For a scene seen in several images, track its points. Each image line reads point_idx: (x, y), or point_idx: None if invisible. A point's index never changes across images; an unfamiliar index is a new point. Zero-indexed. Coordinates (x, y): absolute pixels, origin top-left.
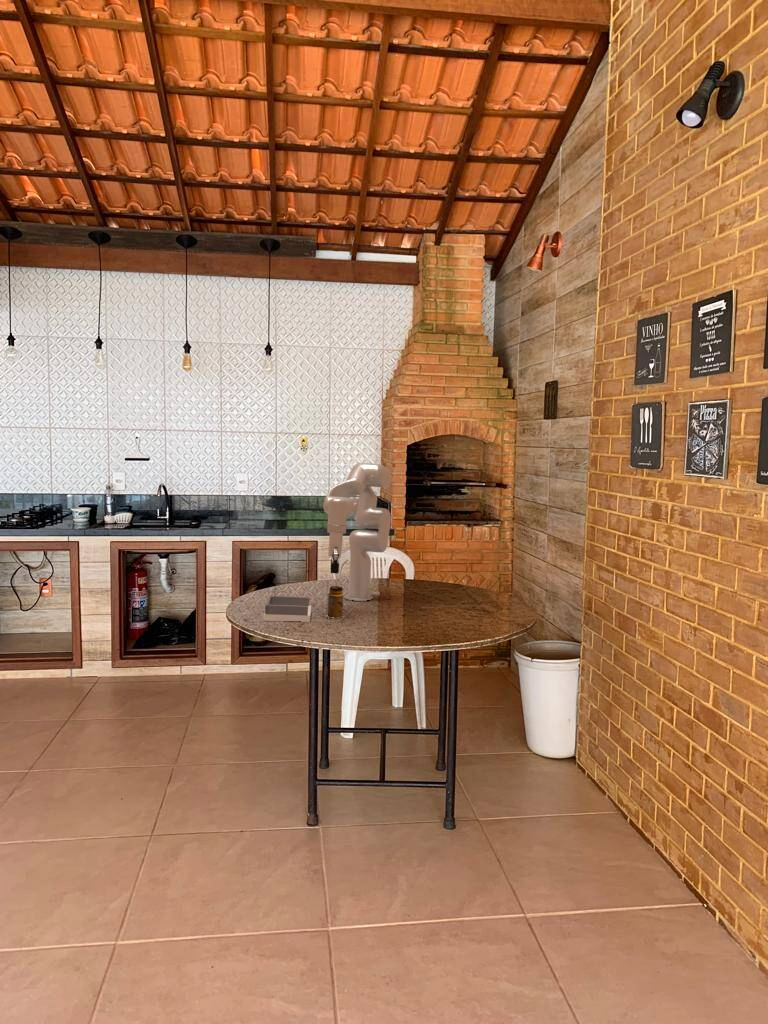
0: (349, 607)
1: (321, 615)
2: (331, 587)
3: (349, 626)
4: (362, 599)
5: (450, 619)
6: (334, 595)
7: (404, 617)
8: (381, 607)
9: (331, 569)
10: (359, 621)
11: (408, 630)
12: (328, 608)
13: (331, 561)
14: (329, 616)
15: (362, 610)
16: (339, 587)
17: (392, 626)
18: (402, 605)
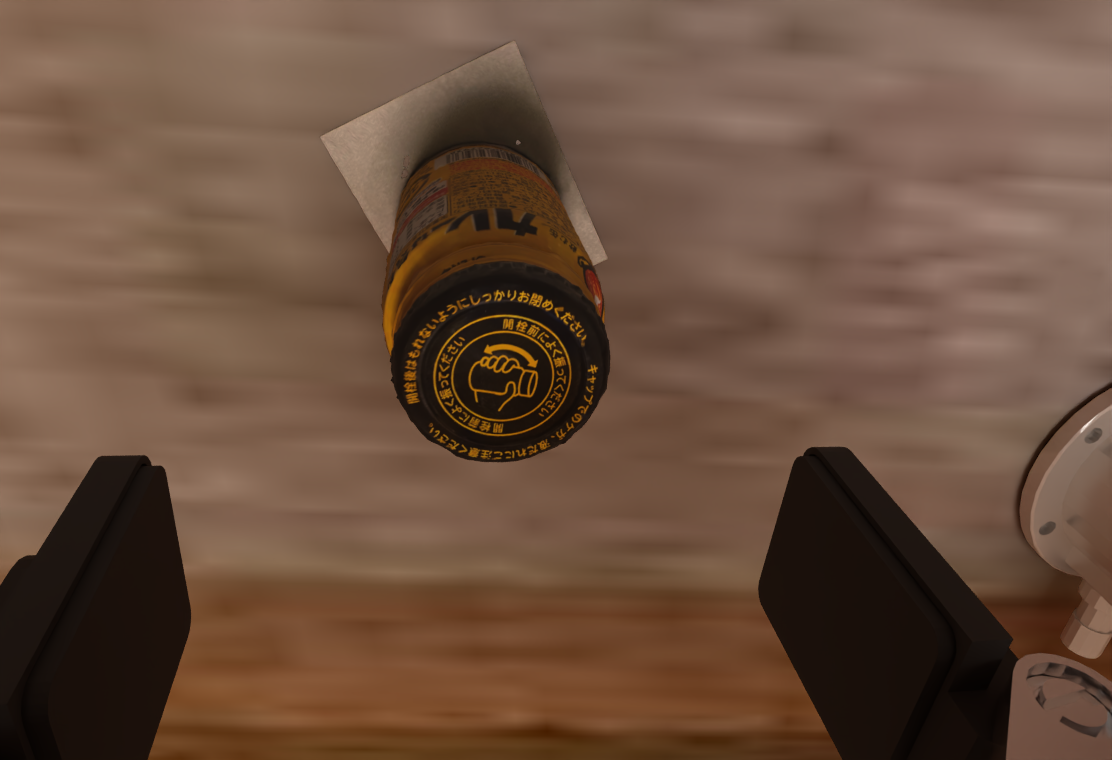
0: (835, 381)
1: (476, 64)
2: (486, 299)
3: (50, 348)
4: (1031, 504)
5: None
6: (388, 302)
7: (483, 735)
8: None
9: (62, 537)
10: (288, 444)
11: None
12: (450, 167)
13: (909, 605)
14: (427, 161)
15: (711, 481)
16: (518, 422)
17: None
18: None
